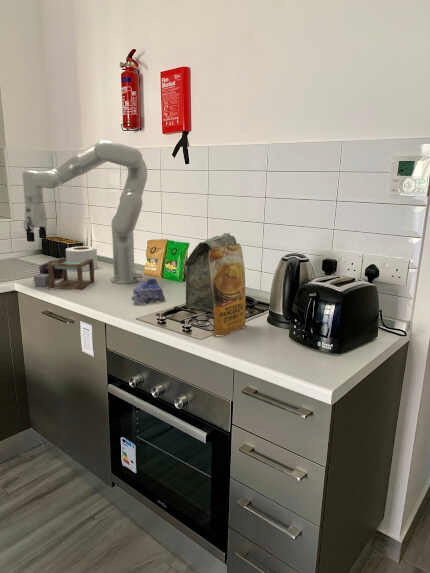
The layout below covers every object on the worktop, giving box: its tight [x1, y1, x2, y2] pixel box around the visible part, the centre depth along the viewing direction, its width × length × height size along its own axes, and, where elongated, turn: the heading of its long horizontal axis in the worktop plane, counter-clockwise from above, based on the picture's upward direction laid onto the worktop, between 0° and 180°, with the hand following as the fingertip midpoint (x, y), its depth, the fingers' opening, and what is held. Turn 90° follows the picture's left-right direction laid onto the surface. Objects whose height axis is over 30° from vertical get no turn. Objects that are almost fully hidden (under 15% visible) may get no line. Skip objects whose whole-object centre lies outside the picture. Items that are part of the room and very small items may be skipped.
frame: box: [48, 257, 95, 291], centre depth 196 cm, size 14×14×11 cm
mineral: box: [130, 277, 166, 304], centre depth 174 cm, size 14×10×10 cm
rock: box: [38, 258, 63, 279], centre depth 209 cm, size 12×9×10 cm
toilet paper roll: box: [65, 245, 99, 272], centre depth 230 cm, size 16×15×11 cm
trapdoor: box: [55, 260, 88, 270], centre depth 195 cm, size 10×11×1 cm
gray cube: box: [33, 273, 50, 289], centre depth 194 cm, size 5×5×5 cm
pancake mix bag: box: [208, 243, 246, 337], centre depth 141 cm, size 7×19×28 cm, turn 138°
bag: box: [184, 232, 238, 314], centre depth 169 cm, size 22×16×27 cm
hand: (37, 239), depth 192 cm, fingers open, 9 cm apart
